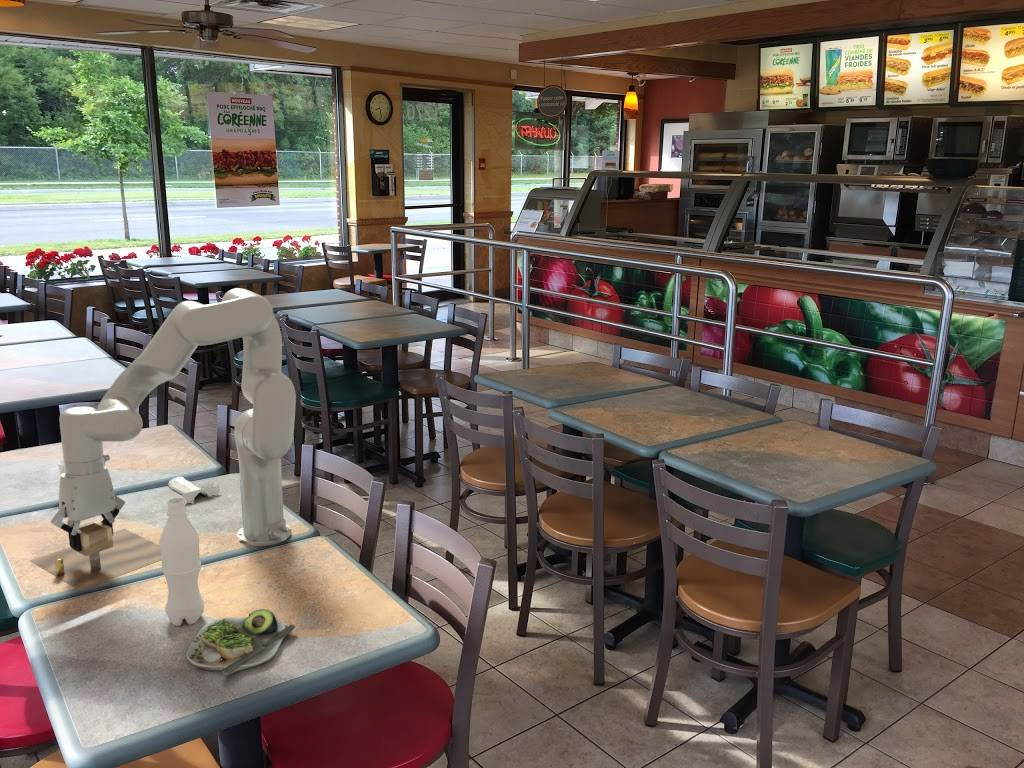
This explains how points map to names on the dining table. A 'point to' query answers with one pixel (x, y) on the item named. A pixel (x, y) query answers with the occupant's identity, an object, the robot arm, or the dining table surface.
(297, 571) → the dining table surface
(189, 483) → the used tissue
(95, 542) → the square frame with tab
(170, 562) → the water bottle
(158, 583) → the dining table surface
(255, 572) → the dining table surface
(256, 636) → the avocado toast plate
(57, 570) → the dowel pin
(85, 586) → the board
